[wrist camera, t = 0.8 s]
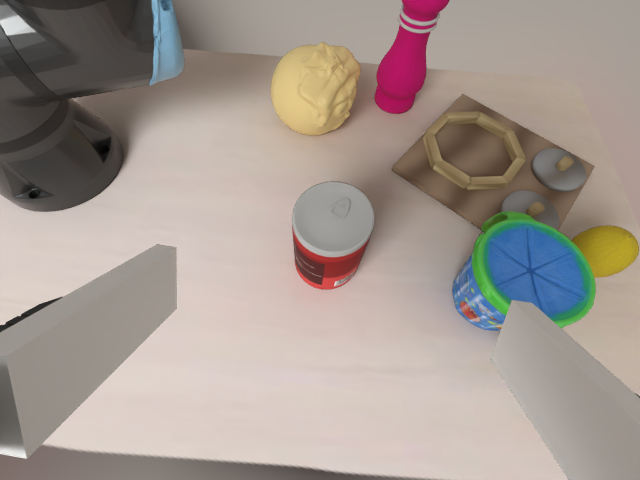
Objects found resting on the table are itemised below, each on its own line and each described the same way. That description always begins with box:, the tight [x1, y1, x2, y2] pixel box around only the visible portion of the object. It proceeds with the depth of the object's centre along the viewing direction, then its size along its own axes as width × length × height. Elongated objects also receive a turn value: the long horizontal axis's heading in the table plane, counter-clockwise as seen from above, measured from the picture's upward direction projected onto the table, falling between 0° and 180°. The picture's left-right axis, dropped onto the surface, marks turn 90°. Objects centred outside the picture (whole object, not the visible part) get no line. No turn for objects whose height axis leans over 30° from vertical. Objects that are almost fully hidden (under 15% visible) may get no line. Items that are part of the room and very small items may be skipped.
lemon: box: [571, 226, 639, 277], centre depth 37 cm, size 6×6×8 cm
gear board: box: [392, 94, 595, 231], centre depth 45 cm, size 22×20×4 cm
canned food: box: [292, 181, 374, 289], centre depth 34 cm, size 8×8×11 cm
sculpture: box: [271, 42, 360, 135], centre depth 45 cm, size 12×12×11 cm
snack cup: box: [452, 211, 596, 330], centre depth 33 cm, size 16×10×10 cm
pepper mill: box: [375, 0, 449, 114], centre depth 43 cm, size 7×7×20 cm
